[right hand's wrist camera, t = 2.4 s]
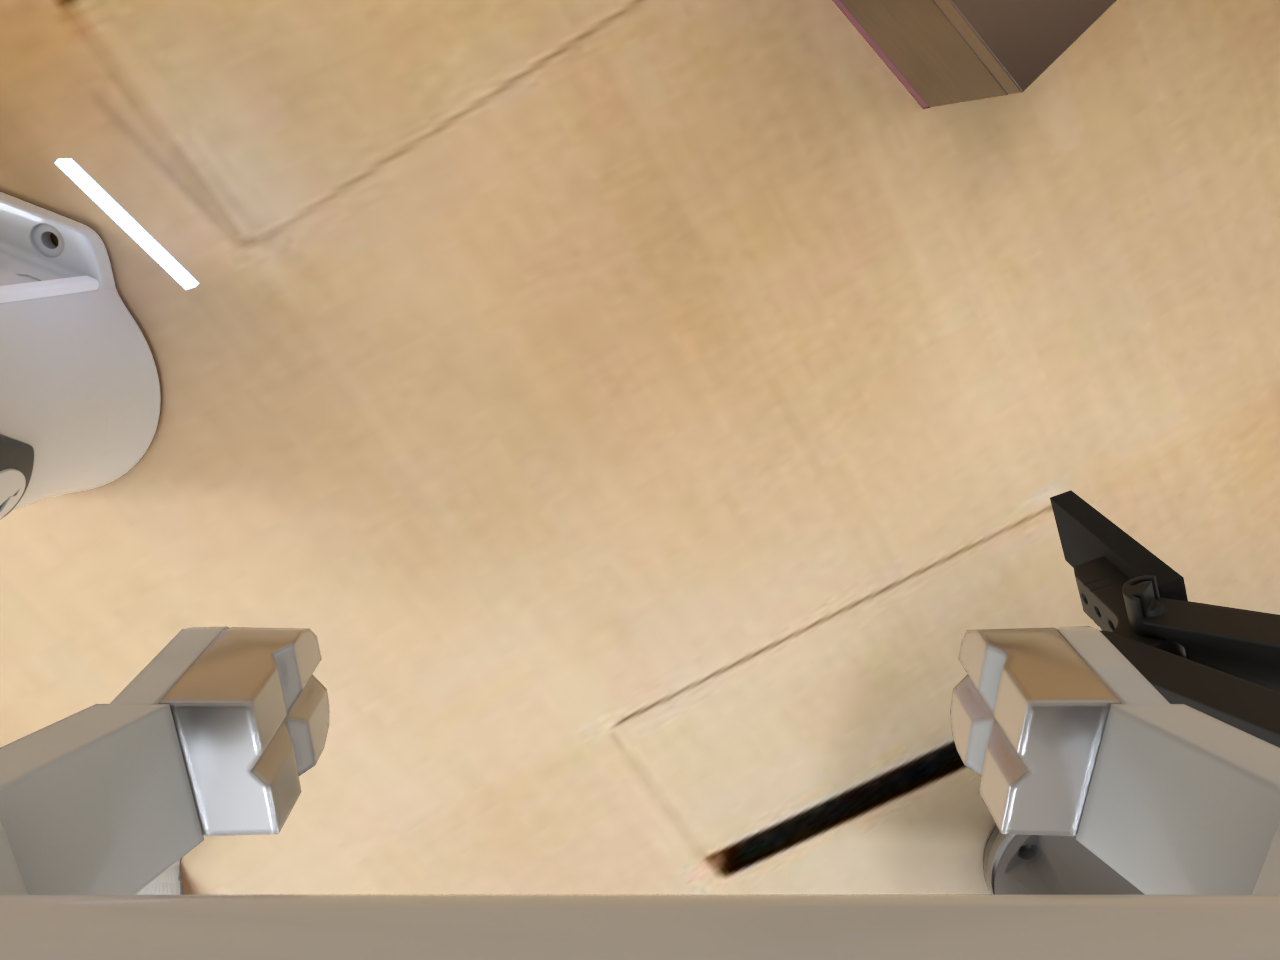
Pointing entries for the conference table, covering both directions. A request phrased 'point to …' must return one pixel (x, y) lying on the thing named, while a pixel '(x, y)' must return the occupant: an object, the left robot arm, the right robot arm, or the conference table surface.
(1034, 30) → the lid
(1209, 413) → the conference table surface
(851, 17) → the chest
